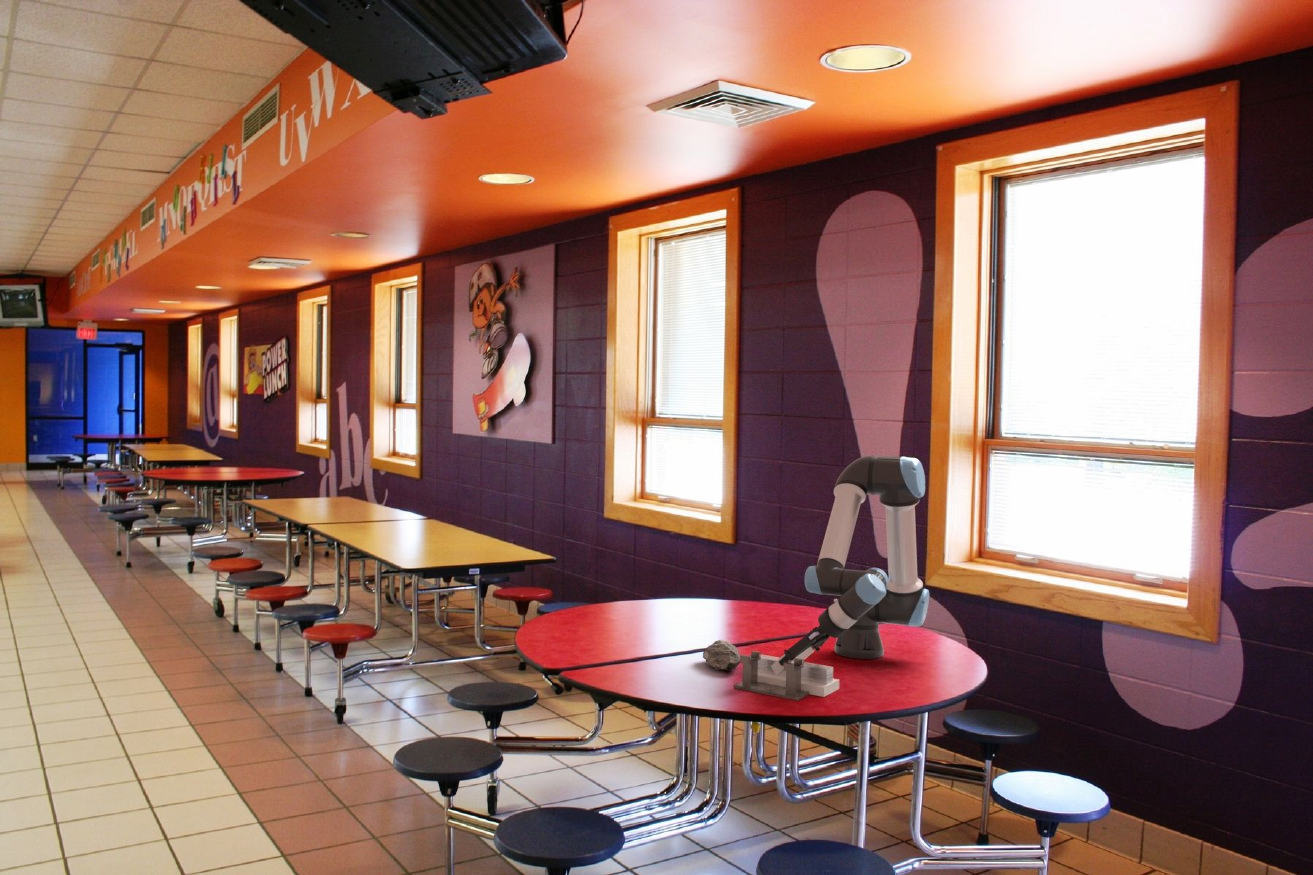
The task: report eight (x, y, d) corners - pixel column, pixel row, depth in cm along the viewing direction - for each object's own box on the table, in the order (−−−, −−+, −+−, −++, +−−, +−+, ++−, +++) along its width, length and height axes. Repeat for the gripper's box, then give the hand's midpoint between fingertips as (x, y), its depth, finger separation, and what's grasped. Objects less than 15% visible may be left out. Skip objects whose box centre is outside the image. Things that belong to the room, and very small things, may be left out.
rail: (760, 668, 273) (761, 654, 273) (832, 681, 261) (833, 666, 261) (753, 671, 270) (754, 656, 270) (826, 684, 257) (827, 669, 257)
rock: (691, 654, 288) (710, 627, 291) (711, 673, 291) (730, 646, 294) (722, 669, 272) (742, 641, 274) (743, 689, 275) (763, 660, 278)
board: (764, 674, 276) (764, 666, 276) (839, 688, 263) (839, 679, 263) (747, 682, 268) (747, 673, 268) (823, 696, 255) (824, 687, 255)
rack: (746, 682, 267) (747, 649, 267) (809, 694, 256) (810, 660, 256) (733, 687, 261) (734, 654, 261) (797, 700, 251) (798, 665, 251)
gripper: (847, 600, 269) (796, 645, 278) (808, 614, 249) (755, 663, 258) (864, 622, 267) (813, 667, 276) (827, 638, 246) (772, 686, 255)
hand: (785, 665), depth 267 cm, fingers open, 12 cm apart
